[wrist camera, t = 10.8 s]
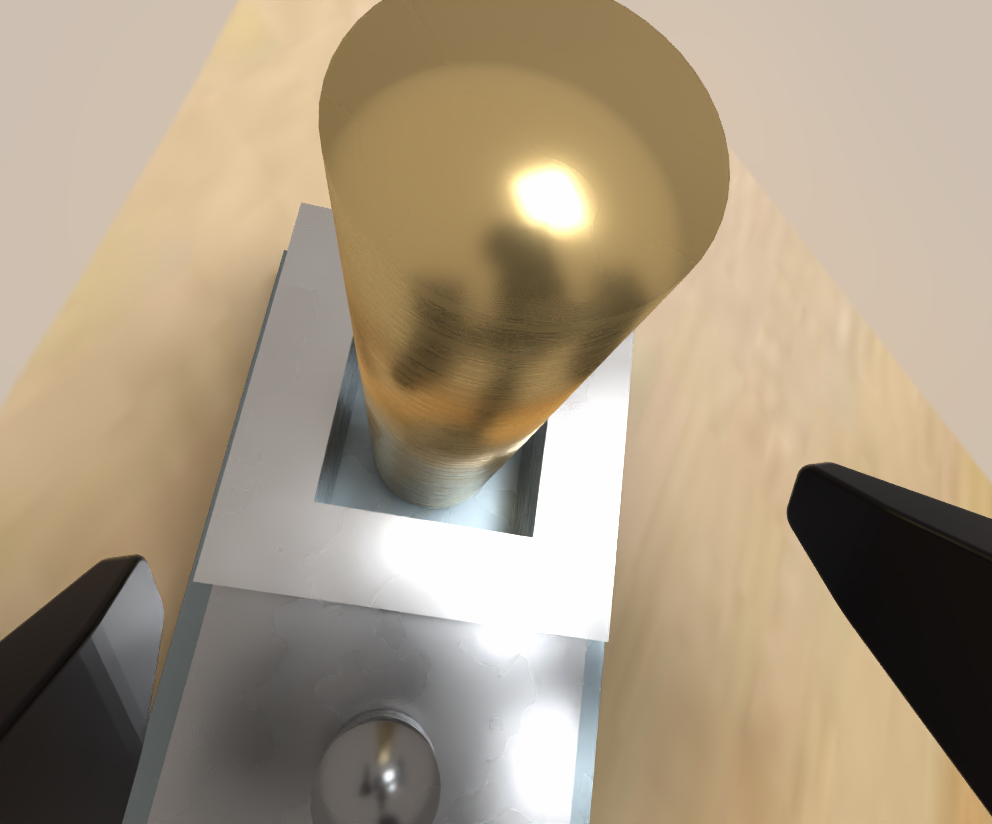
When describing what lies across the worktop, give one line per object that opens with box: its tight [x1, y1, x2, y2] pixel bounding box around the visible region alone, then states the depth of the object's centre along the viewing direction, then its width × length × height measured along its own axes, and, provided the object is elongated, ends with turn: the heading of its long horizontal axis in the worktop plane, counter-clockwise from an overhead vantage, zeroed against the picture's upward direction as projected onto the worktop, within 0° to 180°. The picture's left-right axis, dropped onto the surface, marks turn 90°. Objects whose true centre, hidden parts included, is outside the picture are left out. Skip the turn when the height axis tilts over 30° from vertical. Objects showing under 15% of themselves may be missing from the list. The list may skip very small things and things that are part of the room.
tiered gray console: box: [122, 203, 635, 824], centre depth 14 cm, size 22×11×4 cm, turn 171°
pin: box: [319, 0, 730, 508], centre depth 11 cm, size 4×4×12 cm
